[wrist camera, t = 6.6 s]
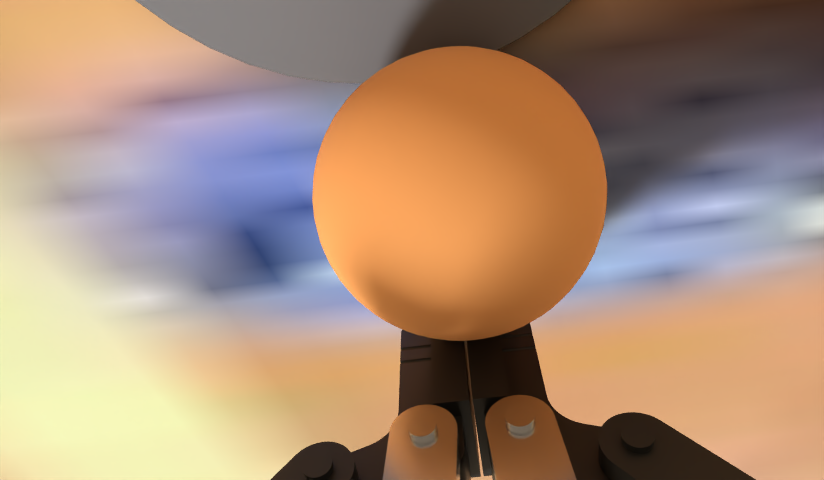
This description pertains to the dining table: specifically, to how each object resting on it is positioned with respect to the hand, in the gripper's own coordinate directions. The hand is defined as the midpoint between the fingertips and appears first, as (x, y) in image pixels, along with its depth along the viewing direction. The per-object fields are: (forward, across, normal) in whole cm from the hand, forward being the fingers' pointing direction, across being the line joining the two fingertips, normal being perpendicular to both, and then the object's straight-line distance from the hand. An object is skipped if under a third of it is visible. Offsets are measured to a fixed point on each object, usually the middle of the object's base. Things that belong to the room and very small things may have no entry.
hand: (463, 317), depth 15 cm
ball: (-1, 0, -4) cm, 4 cm away
